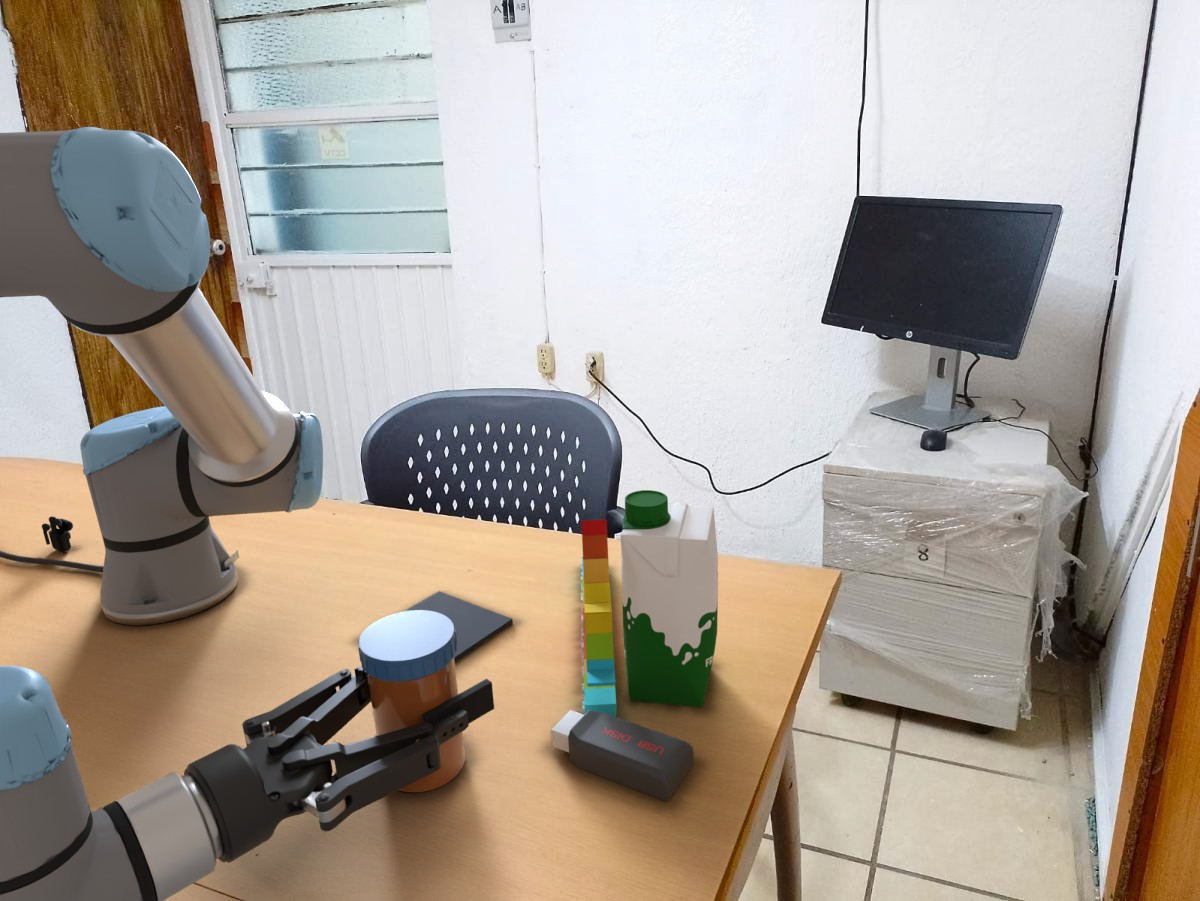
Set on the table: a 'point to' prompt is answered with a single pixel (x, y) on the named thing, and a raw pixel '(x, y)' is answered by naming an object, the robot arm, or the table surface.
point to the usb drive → (624, 752)
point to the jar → (418, 717)
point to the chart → (596, 622)
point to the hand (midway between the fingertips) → (462, 675)
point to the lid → (407, 645)
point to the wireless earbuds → (58, 533)
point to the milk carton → (668, 598)
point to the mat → (465, 620)
